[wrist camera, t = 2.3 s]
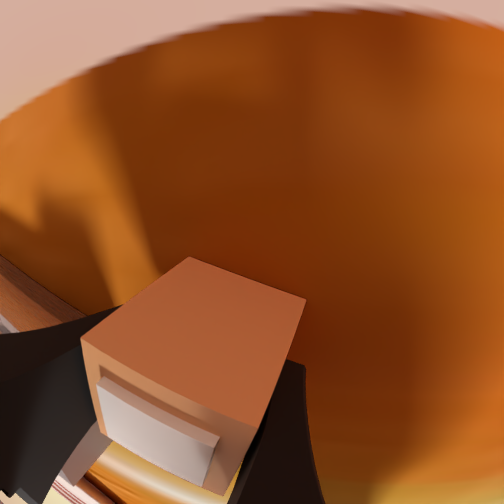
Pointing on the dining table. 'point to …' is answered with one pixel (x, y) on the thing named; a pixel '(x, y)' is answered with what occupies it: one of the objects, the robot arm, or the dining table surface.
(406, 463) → the dining table surface
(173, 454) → the block
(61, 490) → the dinner plate
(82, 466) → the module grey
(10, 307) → the rail
